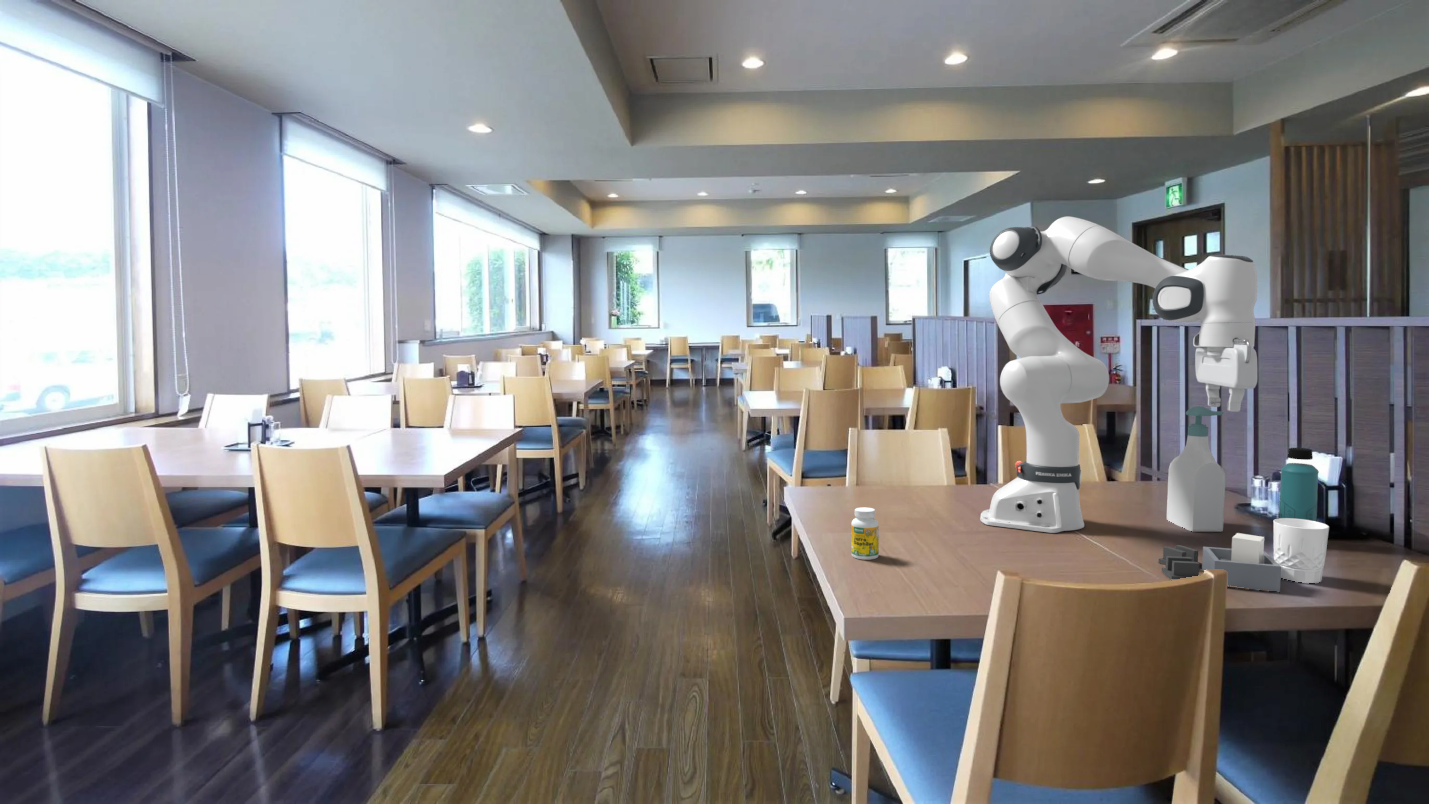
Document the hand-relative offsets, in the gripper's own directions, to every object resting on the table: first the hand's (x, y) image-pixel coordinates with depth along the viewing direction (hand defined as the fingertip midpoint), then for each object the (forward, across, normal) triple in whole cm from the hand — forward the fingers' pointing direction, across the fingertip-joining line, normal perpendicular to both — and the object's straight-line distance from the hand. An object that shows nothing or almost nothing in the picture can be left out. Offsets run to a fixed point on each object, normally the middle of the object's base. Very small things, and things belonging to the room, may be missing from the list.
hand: (1223, 408), depth 150 cm
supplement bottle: (+29, -16, +68) cm, 76 cm away
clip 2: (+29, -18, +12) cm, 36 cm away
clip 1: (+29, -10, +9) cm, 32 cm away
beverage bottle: (+29, +12, -19) cm, 37 cm away
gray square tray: (+29, -18, +2) cm, 34 cm away
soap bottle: (+29, +24, -4) cm, 38 cm away
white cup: (+29, -14, -8) cm, 33 cm away
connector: (+28, -18, +2) cm, 33 cm away
